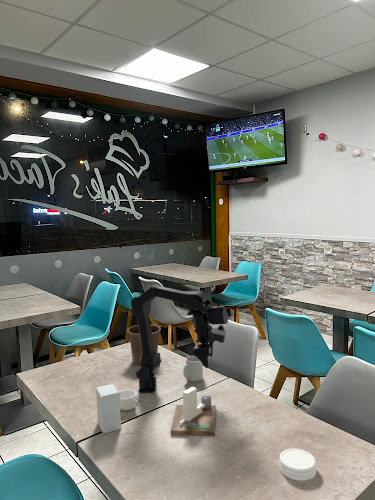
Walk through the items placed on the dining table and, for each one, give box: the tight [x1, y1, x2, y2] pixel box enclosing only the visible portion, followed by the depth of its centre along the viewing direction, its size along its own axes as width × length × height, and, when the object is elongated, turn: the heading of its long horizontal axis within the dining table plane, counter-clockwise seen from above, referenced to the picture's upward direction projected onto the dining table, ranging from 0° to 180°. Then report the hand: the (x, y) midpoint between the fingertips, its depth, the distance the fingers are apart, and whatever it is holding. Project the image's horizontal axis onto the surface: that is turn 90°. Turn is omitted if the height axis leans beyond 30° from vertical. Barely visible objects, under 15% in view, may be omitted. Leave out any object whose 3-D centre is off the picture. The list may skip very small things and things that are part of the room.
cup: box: [182, 355, 204, 383], centre depth 170 cm, size 7×10×9 cm
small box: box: [95, 383, 122, 434], centre depth 134 cm, size 8×6×13 cm
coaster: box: [278, 448, 317, 482], centre depth 110 cm, size 10×10×4 cm
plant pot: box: [126, 324, 162, 366], centre depth 193 cm, size 16×16×16 cm
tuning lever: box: [180, 386, 212, 424], centre depth 137 cm, size 16×4×10 cm, turn 140°
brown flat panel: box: [170, 404, 217, 437], centre depth 136 cm, size 14×17×2 cm
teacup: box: [118, 389, 140, 412], centre depth 146 cm, size 10×8×5 cm
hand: (209, 361), depth 152 cm, fingers open, 9 cm apart
